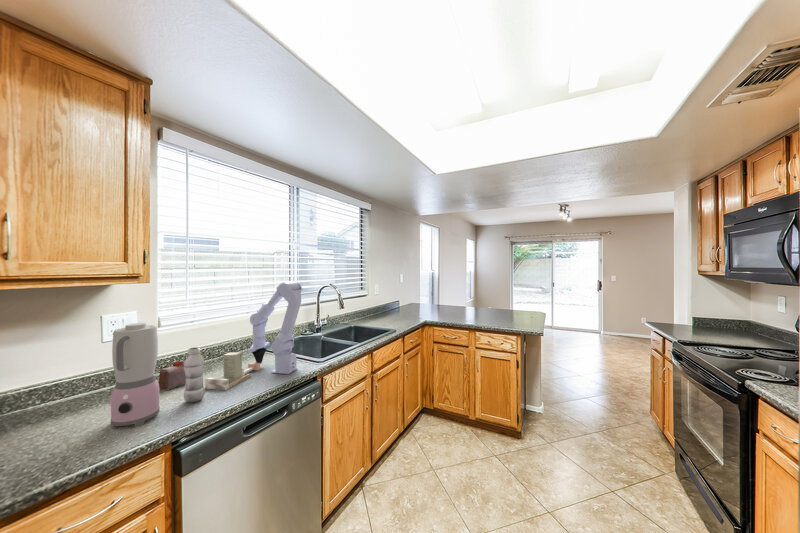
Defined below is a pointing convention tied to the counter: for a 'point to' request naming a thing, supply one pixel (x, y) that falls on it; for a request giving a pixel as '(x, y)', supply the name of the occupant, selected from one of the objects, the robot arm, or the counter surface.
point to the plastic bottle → (194, 376)
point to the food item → (172, 376)
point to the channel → (223, 382)
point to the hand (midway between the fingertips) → (259, 363)
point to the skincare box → (232, 366)
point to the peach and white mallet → (251, 367)
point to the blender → (134, 375)
